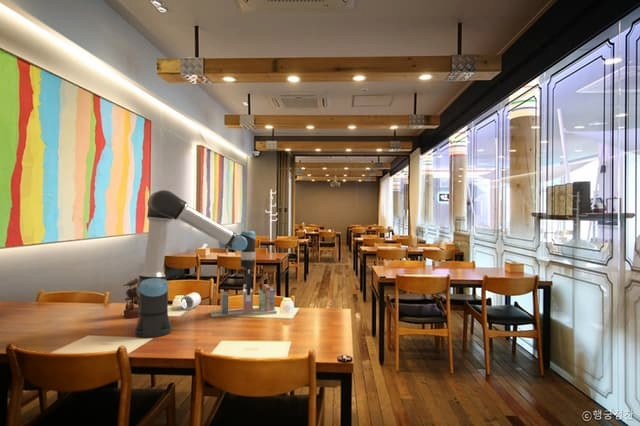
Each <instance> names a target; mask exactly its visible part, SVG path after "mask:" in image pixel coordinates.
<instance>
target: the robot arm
mask: <svg viewBox="0 0 640 426" xmlns="http://www.w3.org/2000/svg"><path fill="white" fill-rule="evenodd" d="M146 219H148V221H149V225H148V234H147V240H146V248H145V257H144V263H143V264H144V265H143V270H142V271H141V273H139V276H138V280H139V281H138V284H136V293H137V296H138V298H139V318H137V319H138V320H137V321H136V325H135V328H134V336H135V337H138V338H146V339H148V338H158V337H162V336H166V335H168V334H170V333H171V332H172V329H173V328H172V327H173V326H172V323H171V320H170V317H169V314H168V309H169V308H168V307H169V305H168V304H169V298H168V297H169V296H168V294H169V293H168V292H169V285H168V284H169V283H168V280H166V274H165V273H164V264H165V257H166V249H167V241H168V240H167V239H168V233H169V225H170V223H171V222H172V221H173V220H175V221H178V220H180V221H181V222H183V223H185V224H186V225H189V227H192V228H193V229H196V230H198V231H199V232H201V233H203V234H205V235H207V236H208V237H211V238H212V239H214V240H215V241H217V242H218V247H219V249H221V250H228V249H229V250H233V251H236V252H240V259H241V260H240V267H242V268H243V279H242V283H243V284H242V285H243V288H242V290H243V289H246V300H245V301H251V289H252V287H253V285H252V269H251V268H255V266H256V264H255V263H256V260H255V258H256V255H257V253H256V239H257V238H256V232H255V231H254V230H242V231H241V233H240V234H238V233H236V232H234V231H233V230H231V229H229V228H227V227H225V226H224V225H222V224H221V223H219V222H217V221H216V220H213V219H212V218H210V217H208V216H207V215H205V214H203V213H202V212H200V211H198V210H197V209H195V208H192V207H191V206H189V204H188V202H187V201H186V200H183V199H182V198H180V197H179V196H178V195H177V194H175V193H173V192H171V191H169V190H167V189H166V190H165V189H161V190H158V191H155V192H154V193H152V194H151V195H150V197H148V199H147V214H146Z"/></svg>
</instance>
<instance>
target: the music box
mask: <svg viewBox="0 0 640 426" xmlns="http://www.w3.org/2000/svg"><path fill="white" fill-rule="evenodd" d="M138 282H139V278H138V277H137V278H134V279H131V280H130V281H129V282H127V283H126V284H123V285H122V286H124V287H127V288H126V289H127V290H126V293H125V295H126V296H127V297H125V298H124V300H125V301H127V302H126V304H125V307H124V308H125V309H124V310H123V318H124V319H130V320H131V319H132V320H133V319H139V298H138V296H137V293H136V288H137V285H138ZM132 286H133V288H132ZM128 287H129V288H128ZM128 301H129V302H128ZM135 305H136V306H135Z"/></svg>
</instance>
